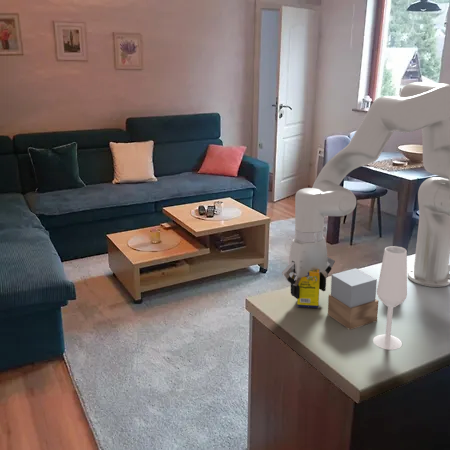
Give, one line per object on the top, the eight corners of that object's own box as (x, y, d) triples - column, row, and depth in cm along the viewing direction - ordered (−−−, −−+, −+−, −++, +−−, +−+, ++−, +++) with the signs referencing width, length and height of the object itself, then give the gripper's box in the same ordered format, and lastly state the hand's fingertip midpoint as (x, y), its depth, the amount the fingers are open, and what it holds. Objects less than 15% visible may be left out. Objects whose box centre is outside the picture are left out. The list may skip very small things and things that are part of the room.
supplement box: (318, 308, 135) (319, 272, 131) (297, 307, 136) (297, 271, 132) (319, 298, 140) (320, 263, 137) (298, 297, 141) (298, 262, 138)
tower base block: (354, 306, 136) (355, 287, 134) (376, 321, 128) (378, 300, 126) (327, 314, 132) (328, 294, 130) (349, 330, 125) (350, 309, 123)
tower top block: (354, 288, 133) (355, 268, 131) (375, 300, 126) (376, 279, 124) (330, 295, 130) (331, 274, 128) (350, 307, 123) (351, 286, 121)
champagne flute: (385, 352, 115) (394, 257, 107) (367, 338, 120) (373, 247, 113) (408, 345, 117) (418, 252, 109) (388, 331, 123) (396, 242, 115)
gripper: (327, 224, 138) (325, 280, 144) (274, 236, 131) (274, 295, 137) (344, 232, 131) (342, 291, 137) (289, 245, 125) (289, 306, 130)
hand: (308, 292), depth 137 cm, fingers closed on supplement box, 8 cm apart
